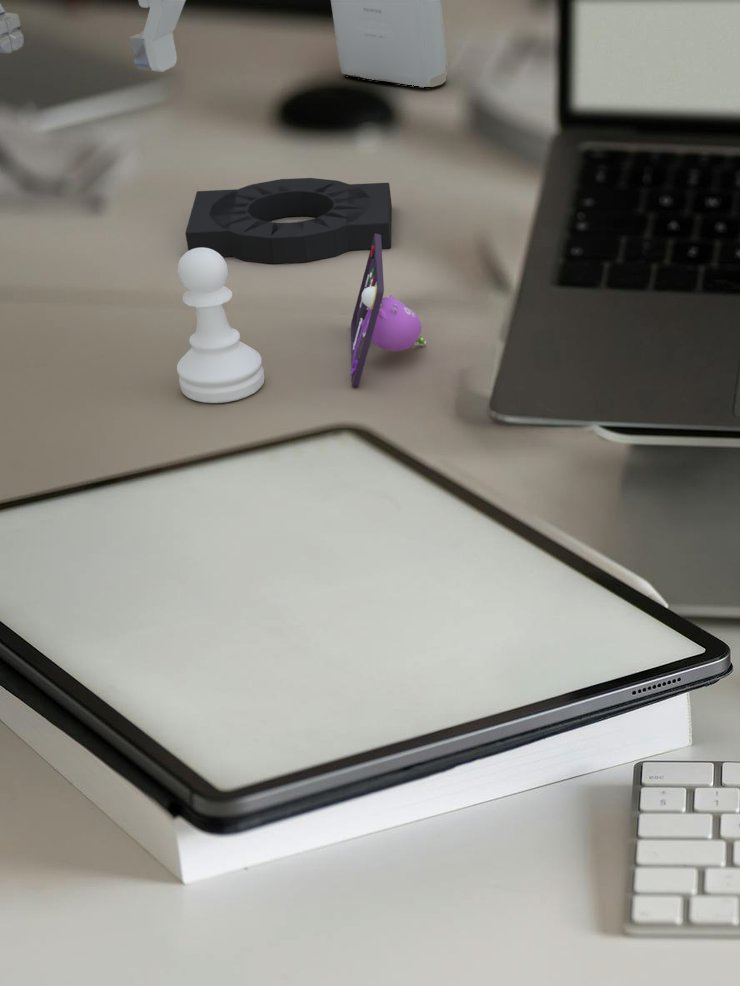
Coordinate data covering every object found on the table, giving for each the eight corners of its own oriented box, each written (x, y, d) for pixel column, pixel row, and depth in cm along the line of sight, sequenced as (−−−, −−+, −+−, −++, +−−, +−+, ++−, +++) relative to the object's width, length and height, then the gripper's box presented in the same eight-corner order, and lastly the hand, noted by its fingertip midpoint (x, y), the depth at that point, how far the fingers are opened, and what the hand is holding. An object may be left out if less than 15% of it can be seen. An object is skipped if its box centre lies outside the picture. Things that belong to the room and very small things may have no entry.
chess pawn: (282, 384, 105) (260, 249, 100) (211, 412, 102) (186, 274, 97) (234, 359, 108) (211, 226, 103) (164, 386, 105) (137, 250, 100)
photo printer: (332, 78, 155) (315, -62, 148) (359, 65, 158) (343, -72, 152) (430, 94, 152) (417, -48, 145) (455, 80, 155) (443, -59, 149)
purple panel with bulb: (363, 229, 109) (365, 287, 102) (443, 249, 111) (451, 307, 104) (339, 321, 112) (339, 384, 105) (417, 339, 114) (423, 402, 107)
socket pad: (187, 268, 119) (182, 242, 118) (203, 207, 129) (198, 182, 128) (391, 257, 122) (388, 231, 121) (392, 198, 131) (389, 173, 130)
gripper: (-206, -224, 83) (-126, 56, 91) (161, -196, 78) (213, 97, 86) (-114, -244, 88) (-46, 23, 96) (235, -218, 84) (278, 60, 91)
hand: (79, 58), depth 91 cm, fingers open, 8 cm apart
